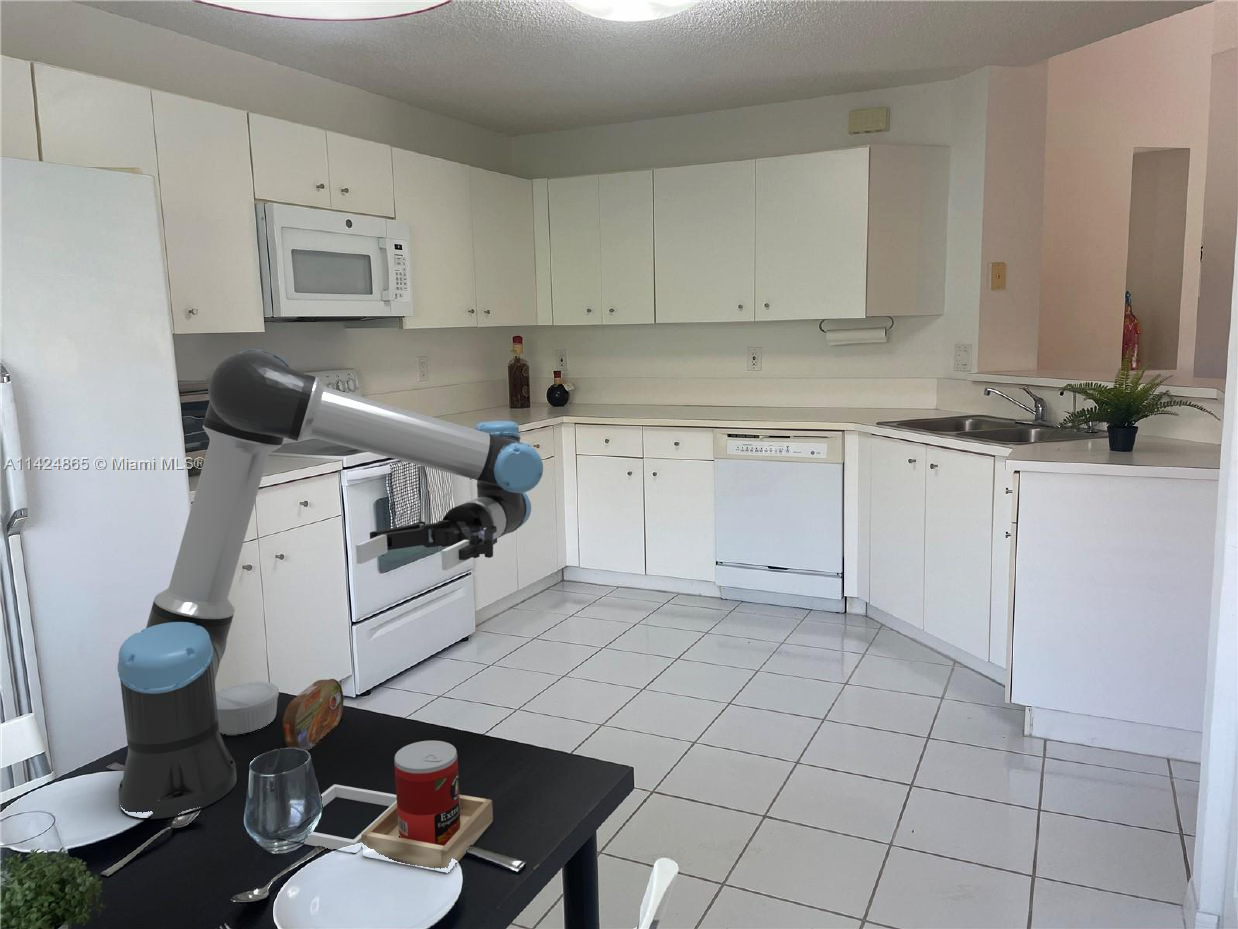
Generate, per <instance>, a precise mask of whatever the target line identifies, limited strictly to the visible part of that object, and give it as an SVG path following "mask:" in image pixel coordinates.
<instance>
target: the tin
mask: <svg viewBox="0 0 1238 929" xmlns="http://www.w3.org/2000/svg"><path fill="white" fill-rule="evenodd" d="M343 710H344V692H343V688H342V686H341V684H340V682H339V681H338V680H337V679H335V678H328V679H319V680H316V681H314V682H313V683H312V684H310V686H308V687H307V688H305V689H304V690H303V691H301V693H299V694H298V695H296V696H295V697H294V698H293V699H292V700H290V701H289V703H288V704H287V706H286V708H285V711H284V713H283V718H282V729H283V737H284V741H285V742H284V743H285V745H286V746H287V747H288V748H289V747H299V748H304V749H308V750H309V751H311V750H310V749H312V747H313V746H315V745H316V744H315V743H318V742H319V740H320V739H322V738H323V736H325V735H326V734H327V732H330V730H331V729H333V728H334V727H335V726H336V727H337V726H338V725H339V723H340V720H341V718H342V715H343ZM336 727H335V728H336ZM335 728H334V729H335ZM334 729H333V730H334ZM330 733H331V732H330ZM319 743H320V742H319ZM319 743H318V744H319ZM316 746H317V745H316ZM316 746H315V747H316ZM312 750H313V749H312Z"/></svg>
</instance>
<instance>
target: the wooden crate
mask: <svg viewBox="0 0 1238 929" xmlns="http://www.w3.org/2000/svg"><path fill="white" fill-rule="evenodd" d="M459 800H460V822H461V825H460V829H459V830H458V831H457V832H456V834H455V835H454V836H453V837H452V838H451V839H450V840H449V841H448V842H447V843H446V845H444V846H441V845H436V844H431V843H426V842H420V841H415V840H410V839H405V838H399V836H400V834H399V827H398V812H397V802H396V803H395V804H394V805H393V806H392V807H391V808H390V809H389V810H387V809H386V810H387V811H386V810H385V811H386V812H385V813H384V814H383V815H382V816H381V817H380V818H379V819H378V820H377V821H375V820H374V821H375V822H374V821H373V822H374V823H373V824H372V825H371V826H370V827H369V828H368V829H367V830H366V831H365V832H364V833H362V832H361V833H362V834H361V837H362V843H363V844H364V845H366V846H367V847H368V848H370V849H374V850H375V851H376V852H377V853H379V855H380V854H381V855H384V856H385V857H388V858H389V859H392V860H394V861H397V862H401V863H405V864H410V865H414V866H415V865H417V866H423V867H429V868H434V869H435V868H440V869H441V868H445V867H446V868H448V866H449V863H450V862H451V859H452V858H453V859H455V860H458V862H460V860H461V859H462V858H463V857H464V856H465V855H466V853H467V852H466V851H465V849H466V848H467V846H470V845H472V846H474V844H475V843H476V842H477V840H479V838H480V837H481V836H482V835H483V833H484V832H485V831H486V830H487V829H488V827H490V825H491V824H492V823H493V822H494V814H493V812H494V811H493V800H492V799H489V798H488V799H487V798H484V797H483V798H482V797H476V796H471V795H464V794H459Z"/></svg>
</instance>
